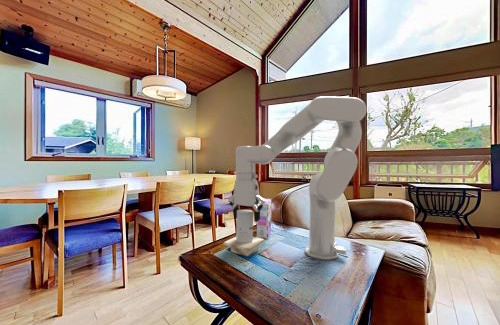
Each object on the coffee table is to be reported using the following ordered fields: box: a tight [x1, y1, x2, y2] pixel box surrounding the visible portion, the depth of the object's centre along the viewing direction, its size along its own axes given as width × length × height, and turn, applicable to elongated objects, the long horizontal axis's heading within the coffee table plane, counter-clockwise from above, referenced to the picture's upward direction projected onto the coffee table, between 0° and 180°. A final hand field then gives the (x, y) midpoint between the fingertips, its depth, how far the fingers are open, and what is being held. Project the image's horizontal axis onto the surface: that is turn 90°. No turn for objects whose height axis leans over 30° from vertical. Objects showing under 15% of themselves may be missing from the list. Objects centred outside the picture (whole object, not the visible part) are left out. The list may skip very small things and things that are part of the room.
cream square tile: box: [223, 235, 266, 257], centre depth 97 cm, size 12×12×4 cm
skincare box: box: [235, 209, 254, 243], centre depth 96 cm, size 6×4×12 cm
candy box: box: [255, 198, 272, 240], centre depth 117 cm, size 14×6×16 cm, turn 168°
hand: (246, 219), depth 96 cm, fingers open, 9 cm apart
